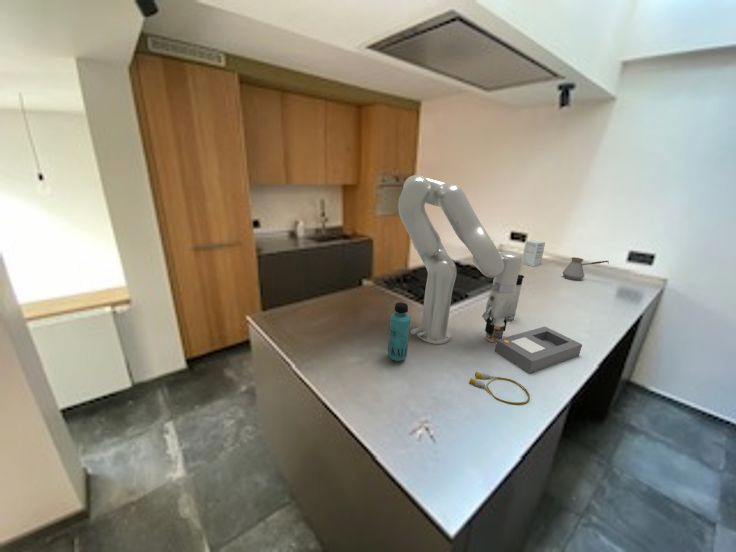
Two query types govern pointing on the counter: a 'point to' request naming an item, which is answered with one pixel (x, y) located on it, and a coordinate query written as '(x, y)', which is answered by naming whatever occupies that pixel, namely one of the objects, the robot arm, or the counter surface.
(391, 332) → the beverage bottle
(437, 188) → the robot arm
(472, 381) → the yellow connector cable
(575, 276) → the coffee pot
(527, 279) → the counter surface
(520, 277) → the travel mug
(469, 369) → the counter surface
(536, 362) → the socket block
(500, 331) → the pill bottle
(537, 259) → the supplement box
